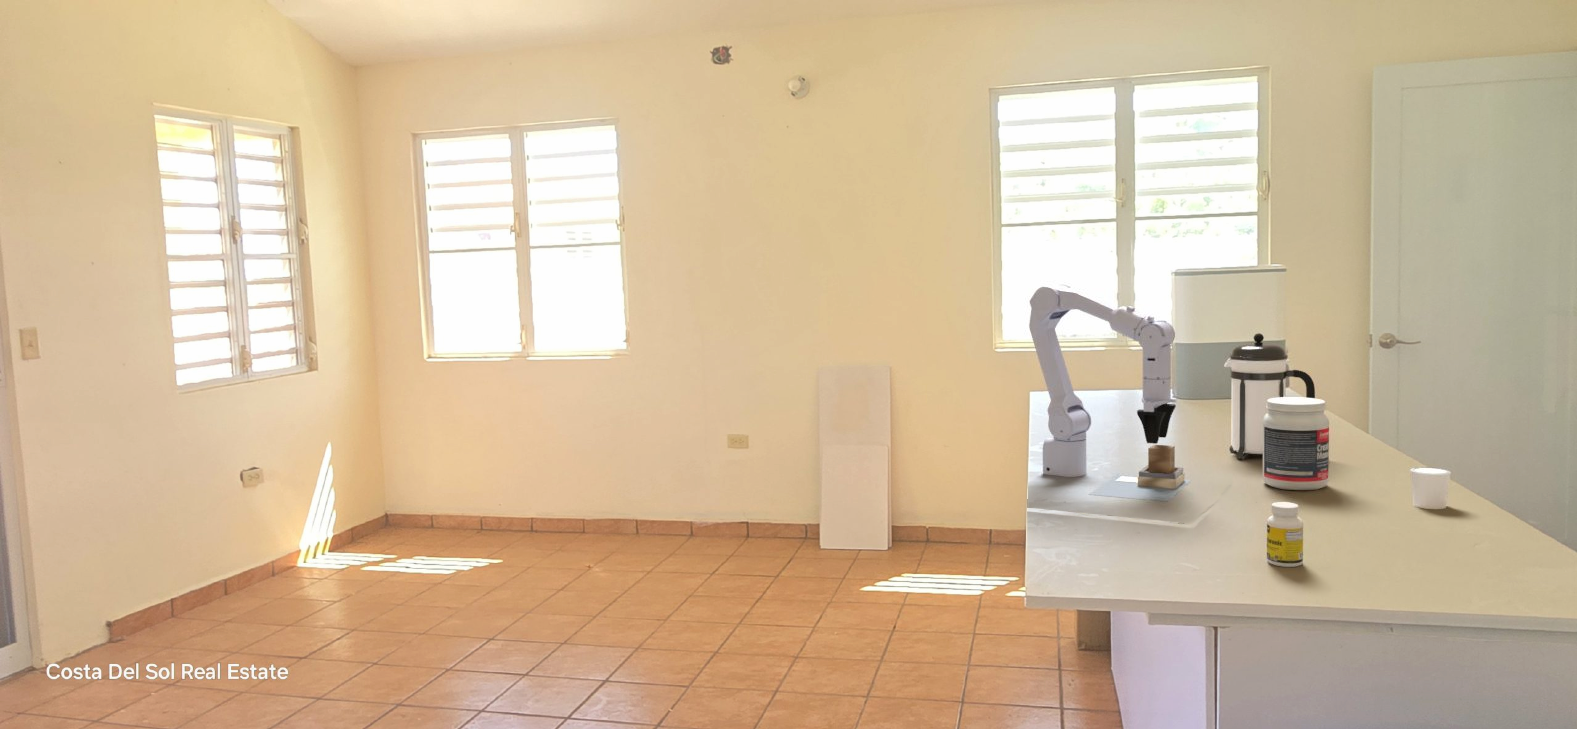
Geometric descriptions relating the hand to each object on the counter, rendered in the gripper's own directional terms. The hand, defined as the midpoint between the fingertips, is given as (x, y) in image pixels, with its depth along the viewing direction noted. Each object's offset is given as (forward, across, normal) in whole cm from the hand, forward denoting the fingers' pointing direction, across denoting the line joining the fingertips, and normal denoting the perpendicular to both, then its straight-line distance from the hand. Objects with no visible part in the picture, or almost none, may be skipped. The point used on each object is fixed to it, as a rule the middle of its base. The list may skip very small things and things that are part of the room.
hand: (1156, 440), depth 232 cm
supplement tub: (+10, +12, -26) cm, 31 cm away
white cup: (+10, +3, -51) cm, 52 cm away
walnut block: (+8, 0, -1) cm, 8 cm away
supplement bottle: (+10, -48, -32) cm, 58 cm away
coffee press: (+10, +43, -15) cm, 47 cm away
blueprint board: (+10, -5, +2) cm, 11 cm away
